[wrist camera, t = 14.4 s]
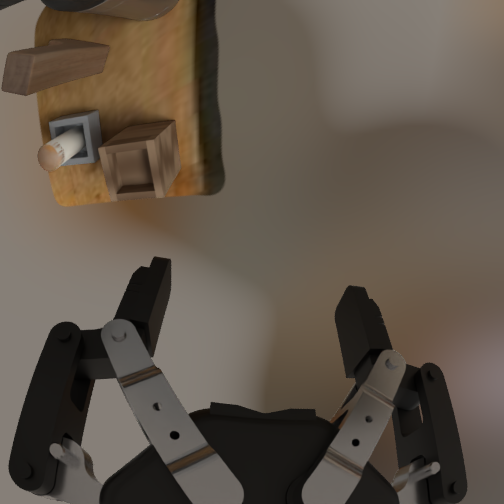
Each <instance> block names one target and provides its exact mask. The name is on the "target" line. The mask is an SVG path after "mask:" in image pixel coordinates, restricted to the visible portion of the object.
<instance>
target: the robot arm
mask: <svg viewBox="0 0 504 504" xmlns="http://www.w3.org/2000/svg"><path fill="white" fill-rule="evenodd" d="M21 1H24V0H0V10H2V9H4V8H7V7H9V6H11V5H14V4H16V3H19V2H21ZM41 1H42V2H43V3H44V4H45V5H46V6H48V7H49V8H51V9H54V10H58V11H69V12H82V13H93V14H101V15H109V16H116V17H122V18H128V19H134V20H139V21H148V20H154V19H157V18H159V17H161V16H163V15H165V14H167V13H168V12H169V11H170V10H172V9H173V7H174V6H175V5H176V4H177V2H178V1H179V0H41ZM170 291H171V259H167V258H161V257H154V258H153V260H152V262H151V265H150V267H143V266H141V267H140V268H139V269H137V270H136V271H135V272H134V273H133V275H132V277H131V279H130V281H129V284H128V286H127V289H126V291H125V293H124V296H123V298H122V300H121V302H120V305H119V307H118V310H117V312H116V315H115V317H114V319H113V320H112V321H110V322H108V323H107V324H106V325H105V326H104V327H103V328H101V329H95V330H80V329H79V327H78V326H77V325H76V324H74V323H72V322H61V323H59V324H57V325H55V326H54V327H53V328H52V329H51V331H50V333H49V335H48V338H47V340H46V343H45V345H44V348H43V350H42V353H41V356H40V358H39V361H38V363H37V366H36V369H35V372H34V374H33V377H32V380H31V383H30V386H29V389H28V392H27V395H26V398H25V401H24V405H23V408H22V411H21V415H20V419H19V422H18V426H17V430H16V434H15V437H14V442H13V446H12V450H11V455H10V460H9V473H10V476H11V478H12V480H13V481H14V482H15V484H17V486H19V487H20V488H22V489H24V490H26V491H29V492H31V493H33V494H35V495H38V496H41V497H44V498H47V499H52V500H57V501H65V502H67V503H70V504H456V503H458V502H460V501H461V500H462V499H463V498H464V497H465V495H466V492H467V479H466V472H465V465H464V459H463V454H462V449H461V443H460V438H459V433H458V429H457V424H456V420H455V416H454V412H453V408H452V404H451V400H450V397H449V393H448V389H447V385H446V382H445V379H444V375H443V373H442V371H441V369H440V368H439V367H438V366H437V365H435V364H433V363H425V364H424V365H423V366H422V367H421V368H417V367H414V366H411V365H408V364H406V363H405V360H404V359H403V357H402V356H401V355H400V354H399V353H398V352H396V351H394V350H393V349H392V345H391V342H390V339H389V336H388V333H387V330H386V327H385V325H384V321H383V318H382V315H381V312H380V309H379V307H378V306H377V304H376V303H375V302H374V301H373V299H369V297H368V295H367V292H366V289H365V288H364V287H358V286H351V285H350V286H348V287H347V288H346V290H345V292H344V294H343V296H342V298H341V300H340V302H339V304H338V306H337V308H336V311H335V323H336V327H337V332H338V337H339V342H340V347H341V352H342V357H343V363H344V367H345V373H346V378H355V380H356V383H355V384H354V385H353V387H352V388H351V390H350V392H349V393H348V395H347V396H346V398H345V400H344V401H343V403H342V404H341V406H340V407H339V409H338V411H337V412H336V413H335V415H334V416H333V417H332V418H331V420H330V421H327V420H325V419H323V418H320V417H318V416H316V412H315V409H287V410H282V411H277V412H271V413H261V412H257V411H254V410H251V409H248V408H245V407H242V406H239V405H232V404H223V403H215V402H211V405H210V408H208V409H202V410H197V411H194V412H192V413H189V414H188V413H187V412H186V410H185V409H184V407H183V406H182V404H181V402H180V401H179V399H178V398H177V396H176V394H175V393H174V391H173V390H172V388H171V386H170V384H169V383H168V381H167V379H166V378H165V376H164V374H163V373H162V371H161V370H160V369H159V368H157V367H156V366H155V364H154V363H153V361H152V359H151V357H153V356H154V352H155V348H156V344H157V341H158V337H159V333H160V329H161V325H162V322H163V318H164V315H165V311H166V308H167V304H168V301H169V297H170ZM109 378H116V379H117V381H118V383H119V385H120V387H121V389H122V391H123V393H124V396H125V398H126V400H127V402H128V404H129V406H130V408H131V410H132V412H133V414H134V416H135V418H136V420H137V422H138V424H139V426H140V427H141V429H142V431H143V433H144V435H145V436H146V438H147V440H148V442H149V444H150V445H149V446H148V447H147V448H146V449H145V450H143V451H142V452H141V453H140V454H138V455H137V456H136V457H135V458H133V459H132V460H131V461H130V462H128V463H127V464H126V465H125V466H123V467H122V468H121V469H120V470H118V471H117V472H116V473H114V474H113V475H112V476H111V477H109V478H108V479H107V480H106V482H105V483H104V485H102V484H101V483H100V482H99V481H98V480H97V479H96V477H95V475H94V472H93V461H92V459H91V457H90V455H89V454H88V453H87V452H86V451H85V450H84V449H83V448H82V447H81V442H82V436H83V432H84V427H85V422H86V417H87V413H88V408H89V404H90V400H91V395H92V391H93V387H94V383H95V379H109ZM419 404H420V405H421V410H422V415H423V423H422V420H421V416H420V410H419ZM391 414H392V420H393V426H394V433H395V440H396V449H397V457H398V465H399V466H398V467H399V470H398V471H397V472H396V474H395V477H394V480H393V481H392V483H391V484H390V483H389V482H388V481H387V480H386V479H385V478H384V477H383V476H382V475H381V474H380V473H379V472H378V471H377V470H376V469H375V468H374V467H373V465H371V464H370V462H369V461H368V459H369V457H370V456H371V454H372V452H373V450H374V448H375V446H376V444H377V442H378V440H379V438H380V437H381V434H382V433H383V431H384V428H385V426H386V424H387V422H388V420H389V418H390V416H391Z"/></svg>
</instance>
